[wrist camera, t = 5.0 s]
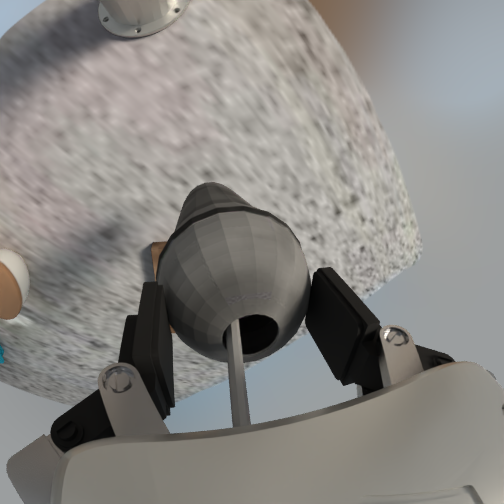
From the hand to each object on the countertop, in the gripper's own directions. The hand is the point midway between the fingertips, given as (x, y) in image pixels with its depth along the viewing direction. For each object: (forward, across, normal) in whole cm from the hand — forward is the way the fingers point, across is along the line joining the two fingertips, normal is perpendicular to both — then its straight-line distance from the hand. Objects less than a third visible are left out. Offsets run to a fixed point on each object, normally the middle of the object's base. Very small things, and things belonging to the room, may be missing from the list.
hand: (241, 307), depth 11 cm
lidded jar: (+28, +34, +12) cm, 45 cm away
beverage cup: (+14, 0, 0) cm, 14 cm away
